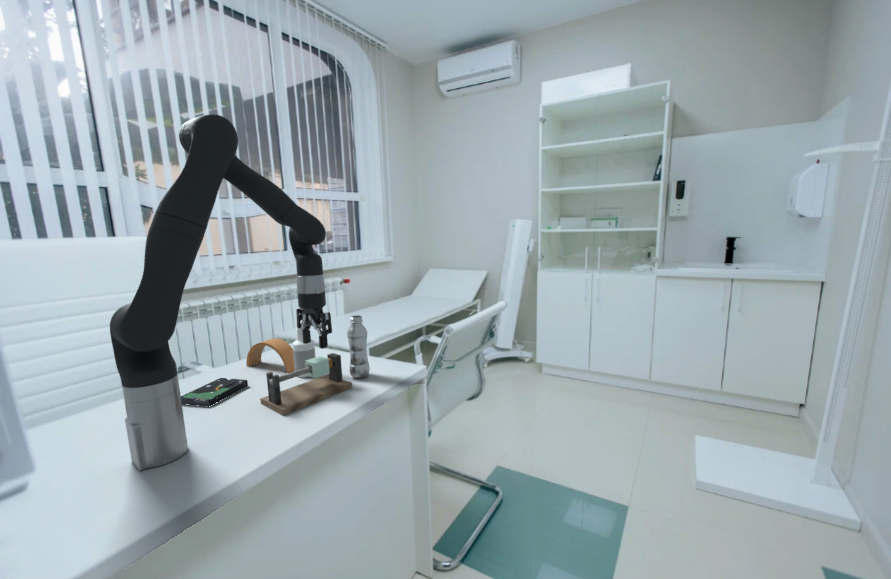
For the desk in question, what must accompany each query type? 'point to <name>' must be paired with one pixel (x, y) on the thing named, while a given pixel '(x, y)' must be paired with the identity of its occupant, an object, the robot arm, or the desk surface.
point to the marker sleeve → (318, 366)
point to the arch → (279, 346)
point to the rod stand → (304, 388)
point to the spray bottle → (302, 351)
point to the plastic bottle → (358, 348)
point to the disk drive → (213, 392)
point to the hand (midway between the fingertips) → (315, 345)
